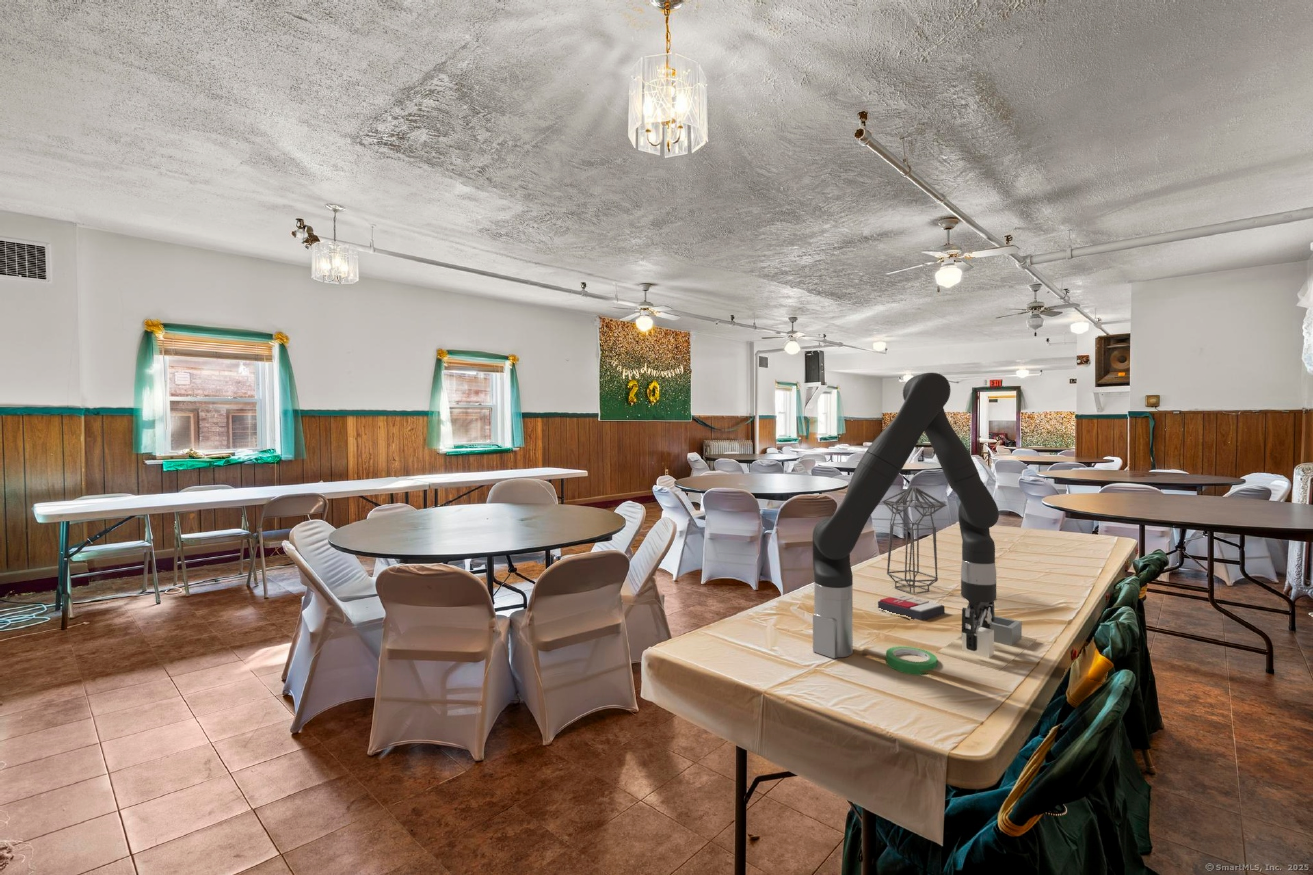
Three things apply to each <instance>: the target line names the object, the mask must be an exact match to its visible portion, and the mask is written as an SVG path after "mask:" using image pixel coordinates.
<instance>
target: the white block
mask: <svg viewBox="0 0 1313 875" xmlns="http://www.w3.org/2000/svg"><path fill="white" fill-rule="evenodd" d="M969 629H971V626H970V628H969ZM961 636H962V651H964V652H967V653H971V654H975V655H978V656H982V657H986V658H990V657H991V656H993V655H994V630H991V629H987V628H983V627H980V628H979V629H978V634H977V650H976V651H972V650H968V649H967V648H966V633H962V632H961Z"/></svg>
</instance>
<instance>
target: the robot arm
mask: <svg viewBox="0 0 1313 875" xmlns="http://www.w3.org/2000/svg"><path fill="white" fill-rule="evenodd" d="M951 391H952V390H951V385H950V382H949V380H948V379H947V377H946V376H945V375H943V374H941V373H937V372H926V373H921V374H917V375H915V376H913V377H911V378H910V379H908V380H907V381H906V383H905V384H904V386H903V388H902V398H903V400H904V402H903V404H902V405H901V407H900V409H899V411H898V412H897V414H896V416H895V417H894V419H893V420H892V421H891V423H890V424H888V425H887V426H886V427H885V429H883V430H882V431H881V432H880V434H879V435H878V436H877V437H876V438H875V439H874V440H873V441H872V443H871V444H870V445H869V446H868V448H867V450H866V451H865V453H863V456H862V457H861V459H860V460H859V462H858V464H857V466H856V468H855V469H854V471H853V473H852V475H851V479H850V482H849V484H848V488H847V490H846V493H845V496H844V498H843V500H842V502H841V504H840V505H839V506H838V508H837V509H836V511H835V512H834V514H833V515H832V516H831V517H825V518H823V519H821V520H819V521H817V523H816V524H815V525H814V527H813V531H812V569H813V570H812V571H813V577H814V578H813V579H814V580H813V581H814V582H813V584H814V595H813V597H814V598H813V600H814V601H813V602H814V603H813V605H814V607H813V609H814V613H813V614H812V652H813V653H817V654H820V655H823V656H826V657H829V658H831V659H837V658H846V657H849V656H851V655H853V653H854V652H853V651H854V650H853V647H854V646H853V644H854V640H853V639H854V637H853V635H854V634H853V633H854V632H853V630H854V628H853V627H854V624H853V622H854V621H853V617H854V616H853V615H854V614H853V605H854V604H853V602H854V600H853V588H854V587H853V584H854V582H853V578H854V577H853V570H852V567H851V566H852V565H851V552H852V551H853V550H854V548H855V546H856V545H857V542H858V540H859V538H860V536H861V534H862V532H863V530H864V528H865V526H866V524H867V522H868V521H869V518H870V517H871V515H872V514H873V512H874V511H875V510H876V508H877V507H878V505H879V504H880V503H881V502H882V501H883V498H884V496H885V495H886V494H887V492H888V491H889V490H890V488H891V486H892V485H893V484H894V482H895V480H897V477H898V476H899V474H900V473H901V471H902V470H903V468H904V466H905V465H906V462H908V460H909V458H910V456H911V455H912V453H913V451H914V449H915V448H916V446H917V445H918V442H919V440H920V438H921V436H922V435H923V434H924V433H925V435H926V436H925V437H926V438H927V440H928V441H929V443H930V445H931V447H932V449H933V452H934V454H935V455H936V458H937V460H938V463H939V465H940V468H941V469H942V473H943V474H944V476H945V478H946V482H947V483H948V485H949V487H950V488H951V490H952V491H953V492H955V494H956V495H957V498H958V499H959V501H960V503H959V506H958V512H957V513H958V514H957V515H958V524H959V525H958V526H959V530H960V535H961V541H962V543H961V566H960V595H961V597H962V599H964V600H967V601H968V603H967V607H962V608H961V634H962V633H966V648H967V649H968V650H972V651H976V650H977V634H978V629H979V628H980V627H983V628H987V629H990V626H991V625H992V622H994V620H995V616H996V615H995V614H996V613H995V601H996V600H997V568H996V545H995V541H994V539H993V538H992V536H991V533H990V528H992V527H994V526H995V525H996V524H997V523H998V521H999V517H1000V512H999V508H998V505H997V503H996V501H995V499H994V498H993V496H992V494H991V492H990V491H989V490H988V488H987V486H986V485H985V484H984V482H983V481H982V478H981V476H980V473H979V470H978V468H977V467H976V463H975V462H974V460H973V458H972V455H971V454H970V452H969V450H968V448H967V447H966V445H965V444H964V442H963V441H962V439H961V438H960V437H959V435H958V434H957V433H956V431H955V429H954V427H953V426H952V425H951V422H950V421H949V419H948V416H947V414H946V411H945V408H944V407H945V406H946V404H947V403H948V401H949V400H950V399H949V398H950V397H951ZM970 626H971V629H969V628H970Z"/></svg>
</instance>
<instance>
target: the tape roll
mask: <svg viewBox="0 0 1313 875" xmlns="http://www.w3.org/2000/svg"><path fill="white" fill-rule="evenodd" d="M885 655H886V656H885V659H886V660H885V662H886V664H887V666H888V667H890V668H891V669H892V670H895V671H897V672H901V673H903V674H908V675H913V676H927V675H930V673H928V672H926V671H930V670H933V669H936V668H937V667H938V657H937V656H936V655H935V654H934V653H932V652H930V651H928V650H924V649H923V648H922V649H921V648H917V647H911V646H894V647H893V646H892V647H890V648H888V649H887V650H886V651H885ZM899 655H912V656H917V657H919V658H923V659H925V660H924V661H911V660H906V659H903V658H901V657H898V656H899Z"/></svg>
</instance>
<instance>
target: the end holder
mask: <svg viewBox="0 0 1313 875" xmlns="http://www.w3.org/2000/svg"><path fill="white" fill-rule="evenodd" d="M1022 623H1023V622H1022V621H1021V620H1016V619H1012V618H1009V617H1008V618H1007V617H1002V616H999V615H995V620H994V622H992V625H991V626H990V629H991V630H994V642H996V643H1000V644H1004V645H1008V646H1013V645H1014V644H1015V643H1017V642H1018V641H1019V640H1021V639H1022V636H1023V635H1022V634H1023V632H1022V629H1023V627H1022V626H1023V625H1022Z"/></svg>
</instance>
